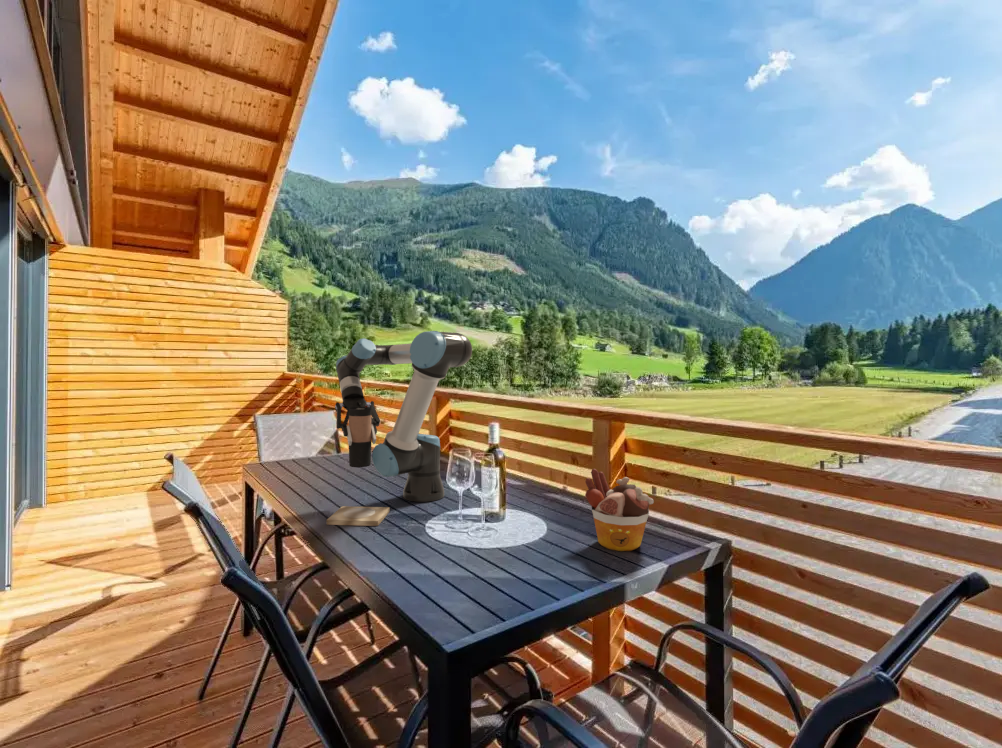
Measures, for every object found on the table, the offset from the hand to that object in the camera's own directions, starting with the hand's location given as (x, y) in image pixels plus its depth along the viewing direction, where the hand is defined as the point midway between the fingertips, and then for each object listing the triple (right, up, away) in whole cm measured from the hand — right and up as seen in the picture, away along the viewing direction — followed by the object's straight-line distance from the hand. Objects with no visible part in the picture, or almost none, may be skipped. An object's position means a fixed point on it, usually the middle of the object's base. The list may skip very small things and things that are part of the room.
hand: (362, 442), depth 173 cm
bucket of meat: (+80, -25, -30) cm, 89 cm away
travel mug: (-2, -9, +3) cm, 9 cm away
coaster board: (+2, -23, -10) cm, 25 cm away
